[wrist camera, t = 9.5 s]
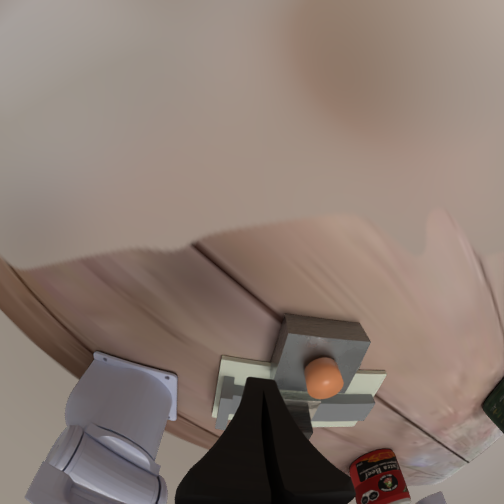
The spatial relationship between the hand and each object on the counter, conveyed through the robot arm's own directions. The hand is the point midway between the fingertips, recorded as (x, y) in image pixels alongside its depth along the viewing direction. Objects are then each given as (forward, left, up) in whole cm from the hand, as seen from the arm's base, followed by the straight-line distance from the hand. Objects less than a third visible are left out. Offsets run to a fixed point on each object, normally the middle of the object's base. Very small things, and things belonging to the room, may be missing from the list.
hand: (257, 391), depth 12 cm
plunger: (+6, -4, -7) cm, 10 cm away
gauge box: (+6, -4, -10) cm, 13 cm away
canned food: (+24, -27, -11) cm, 38 cm away
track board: (+6, -11, -10) cm, 16 cm away
